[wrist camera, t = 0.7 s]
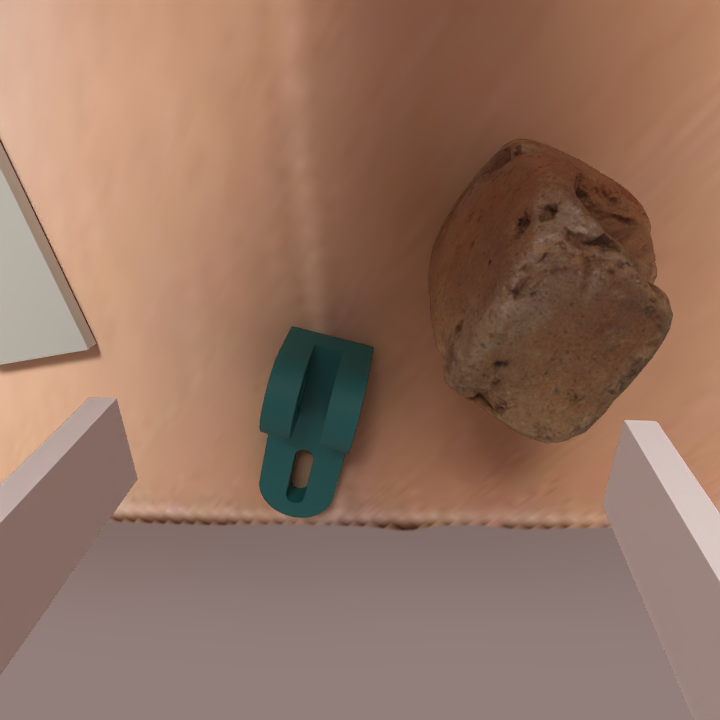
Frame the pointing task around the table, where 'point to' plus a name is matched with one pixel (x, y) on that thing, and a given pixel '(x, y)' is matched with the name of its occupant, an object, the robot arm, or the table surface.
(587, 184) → the block
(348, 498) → the table surface
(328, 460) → the bracket
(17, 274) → the strip with upright block
